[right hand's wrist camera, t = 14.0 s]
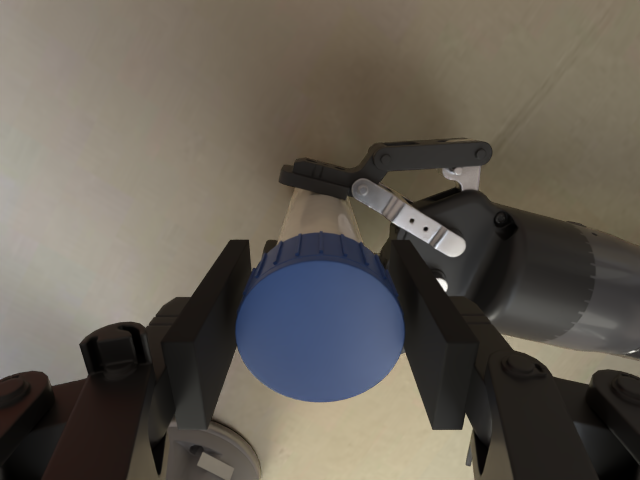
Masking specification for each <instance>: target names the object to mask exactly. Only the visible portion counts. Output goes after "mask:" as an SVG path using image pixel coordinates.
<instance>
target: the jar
mask: <svg viewBox="0 0 640 480" xmlns="http://www.w3.org/2000/svg"><path fill="white" fill-rule="evenodd" d="M320 231H323V232H325V233H334V234H338V235H341V234H344V236H346V237H348V238H351V239H353V240H355V241H357V242H359V243H360V242H362V243H363V240H362V237H361V234H360V231H359V228H358V225H357V222H356V218H355V215H354V212H353V209H352V206H351V203H350V200H349V197H348V196H347V198H346V200H343V199H339V198H335V197H332V196H328V195H323V194H319V193H315V192H311V191H307V190H304V189H300V188H296V187H295V189H294V192H293V195H292V198H291V201H290V204H289V207H288V210H287V213H286V217H285V220H284V223H283V226H282V229H281V232H280V235H279V238H278V241H277V244H276V246H277V245H278V244H279V242H280V241H282V242H283V241H285V240H287V239H290V238H292V237H295V236H298V234H300V233H302V234H307V233H314V232H320ZM363 245H364V243H363Z"/></svg>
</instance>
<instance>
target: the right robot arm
mask: <svg viewBox="0 0 640 480" xmlns="http://www.w3.org/2000/svg"><path fill="white" fill-rule="evenodd" d="M389 274H390V276H391V279H392V281H393V283H394V286H395V288H396V290H397V293H398V295H399V296H398V300H399V302H400V305H401V307H402V310H403V312H404V316H403V317H404V322H405V340H404V344H403V347H404V350H405V352H406V355H407V358H408V361H409V364H410V367H411V370H412V372H413V375H414V378H415V381H416V384H417V387H418V389H419V392H420V395H421V398H422V401H423V404H424V407H425V409H426V412H427V415H428V418H429V421H430V424H431V427H432V429H433V430H462V428H463V423H464V418H465V413H466V414H467V416H468V419H469V421H470V423H471V425H472V427H473V431H472V435H471V440H470V445H469V449H468V454H467V459H466V465H467V466H471V462H473V470H474V479H475V480H640V378H639V377H637V376H634V375H632V374H628V373H625V372H622V371H615V370H609V369H607V370H598V371H597V372H596V373H594V374H593V375H592V378H591V381H590V384H589V385H588V384H583V383H579V382H574V381H569V380H565V379H560V378H556V377H553V376H552V374H551V373H550V371H549V370H548V369H547V367H546V366H545V365H544V364H542V363H541V362H540V361H538V360H537V359H535V358H533V357H531V356H529V355H527V354H525V353H521V352H518V351H514V350H513V349H512V348H511V347H510V345H509V344H508V343H507V342H506V340H505V339H504V338H503V337H502V335H501V334H500V333H499V332H498V330H497V329H496V328H495V327H494V325H493V324H491V322H490V320H489V319H488V318H487V317H486V316H485V314H484V313H483V312H482V310H481V309H480V308H479V307H478V305H477V304H475V303H474V302H472V301H471V300H469V299H468V298H466V297H464V296H448V295H447V294H446V292H445V291H444V289H443V288H442V286H441V285H440V283H439V282H438V280H437V279H436V277H435V276H434V275H433V273H432V272H431V270H430V269H429V267H428V266H427V264H426V263H425V261H424V260H423V258H422V257H421V256H420V254H419V253H418V251H417V250H416V248H415V247H414V245H413V244H412V242H411V241H410V240H391V247H390V260H389ZM250 275H251V260H250V247H249V240H230V241H229V242H228V244H227V245H226V247H225V248H224V250H223V251H222V253H221V254H220V256H219V257H218V258H217V260H216V261H215V263H214V264H213V266H212V267H211V269H210V270H209V272H208V273H207V275H206V276H205V277H204V279H203V280H202V282H201V283H200V285H199V286H198V288H197V289H196V291H195V292H194V294H193V295H192V296H191V297H176V298H174V299H173V300H171V301H170V302H168V303H167V304H165V305H164V306H163V307H162V308H161V309H160V311H159V312H158V313H157V314H156V317H154V318H153V319H152V321H151V322H150V323H149V326H147V327H146V328H145V327H144V326H143V325H141V324H140V323H135V322H120V323H115V324H111V325H107V326H105V327H103V328H100V329H98V330H96V331H94V332H93V333H91V334H90V335H88V336H87V337H85V338H84V340H83V341H82V342H81V343H80V344H79V345H80V348H81V352H82V355H83V358H84V362H85V365H86V368H87V372H88V377H87V378H85V379H82V380H78V381H73V382H69V383H64V384H59V385H55V386H51V384H50V381H49V378H48V376H47V375H46V374H44V373H43V372H37V371H29V372H22V373H18V374H14V375H12V376H11V375H10V376H8V377H5V378H3V379H1V380H0V480H260V477H261V468H260V463H259V460H258V458H257V456H256V454H255V452H254V450H253V449H252V448H251V446H250V445H249V444H248V443H247V442H246V441H245V440H244V439H243V438H242V437H241V436H239V435H238V434H237V433H235V432H234V431H232V430H231V429H229V428H227V427H225V426H223V425H221V424H219V423H216V422H213V421H211V418H212V415H213V412H214V409H215V407H216V404H217V401H218V398H219V395H220V392H221V389H222V387H223V384H224V381H225V378H226V375H227V372H228V370H229V367H230V364H231V361H232V358H233V355H234V352H235V350H236V347H237V343H236V336H235V324H236V319H237V309H238V307H239V305H240V302H241V300H242V297H243V291H244V289H245V287H246V284H247V282H248V280H249V277H250ZM174 414H175V415H174Z"/></svg>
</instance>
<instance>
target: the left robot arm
mask: <svg viewBox="0 0 640 480" xmlns="http://www.w3.org/2000/svg"><path fill="white" fill-rule="evenodd" d="M491 156H492V148H491V146H490V145H489V144H488V143H486V142H482V141H477V140H472V139H467V138H452V139H436V140H419V141H402V142H385V143H375V144H373V145H372V146H371V147H370V148H369V150H368V154H367V155H366V156H365V158H364V159H363V160H362V162H361V163H360V164H359V165H358V166H357V167H355V168H351V169H347V168H343V167H339V166H336V165H332V164H328V163H324V162H320V161H316V160H313V159H309V158H299V159H296V161H295V163H294V166H291V165H283V167H282V169H281V173H280V178H279V182H280V183H282V184H284V185H288V186H292V187H296V188H300V189H304V190H307V191H311V192H315V193H319V194H323V195H328V196H332V197H335V198H339V199H343V200H346V198H347V196H351V197H354V198H355V199H357V200H358V201H360V202H362V203H363V204H365V205H367V206H368V207H370V208H372V209H373V210H375V211H377V212H379V213H380V214H382V215H383V216H385V217H386V218H387V219H388V220H390V221H391V224H390V235H389V239H388V240H387V242H386V243H385V245H384V246H383V247H382V250H381V253H373V254H374V255H375V254H377V255H378V257H379V259H380V262H381V263H382V265H383V267H384V269H385V270H387V269H388V271H389V260H390V247H391V240H410V241H411V242H412V244H413V245H414V247H415V248H416V250H417V251H418V253H419V254H420V256H421V257H422V258H423V260H424V261H425V263H426V264H427V266H428V267H429V269H430V270H431V272H432V273H433V275H434V276H435V277H436V279H437V280H438V282H439V283H440V285H441V286H442V288H443V289H444V291H445V292H446V294H447V295H448V296H464V297H466V298H468V299H469V300H471V301H472V302H474V303H475V304H477V305H478V307H479V308H480V309H481V310H482V312H483V313H484V314H485V316H486V317H487V318H488V319H489V320H490V322H491V324H493V325H494V327H495V328H496V329H497V330H498V332H499V333H500V334H504V335H508V336H513V337H517V338H521V339H526V340H530V341H535V342H539V343H544V344H548V345H552V346H557V347H561V348H566V349H571V350H577V351H589V352H601V353H607V354H611V355H616V356H620V357H624V358H629V359H633V360H637V361H640V246H639V245H634V244H632V243H629V242H627V241H624V240H622V239H620V238H618V237H616V236H613V235H611V234H608V233H604V232H601V231H598V230H595V229H591V228H587V227H586V226H584V225H582V224H580V223H575V222H569V221H566V222H564V221H561V220H557V219H553V218H549V217H546V216H542V215H538V214H534V213H531V212H527V211H523V210H519V209H515V208H512V207H508V206H504V205H500V204H497V203H493V202H491V201H490V200H489V199H488V198H487V197H486V196H485V195H484V194H483V193H482V192H480V191H478V190H479V181H480V172H481V166H482V165H484V164H486V163H487V162H488V161H489V160H490V159H491ZM419 169H437V171H438V173H439V174H440V175H441V176H443V177H445V178H447V179H449V180H454V182H455V184H456V187H455V188H452V189H449V190H446V191H444V192H441V193H438V194H436V195H433V196H430V197H427V198H425V199H422V200H419V201H417V202H413V201H412V200H410V199H408V198H407V197H405V196H404V195H402V194H400V193H399V192H397V191H395V190H394V189H392V188H390V187H388V186H386V185H384V184H382V183H381V182H380V181H381V180H382V179H383V177H384V176H385V175H386V173H387V172H388V171H402V170H419ZM276 244H277V241H276V240H268V241H267V242H266V244H265V247H264V250H263V254H264V253H268V252H269V251H270V250H271V249H273V248H274V247H275V246H276ZM263 254H262V257H263ZM402 353H405V350H404V347H403V348H402V352H401V354H402Z"/></svg>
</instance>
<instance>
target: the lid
mask: <svg viewBox="0 0 640 480" xmlns="http://www.w3.org/2000/svg"><path fill="white" fill-rule="evenodd" d="M398 296H399V295H398V293H397V290H396V288H395V286H394V283H393V281H392V279H391V276H390V274H389V271H388V269H387V270H385V269H384V267H383V265H382V263H381V262H380V259H379V257H378V255H377V254H375V255H374V254H373V253H372V252H371V251H370V250H369V249H368V248H366V247H365V246H364V245H363V243H362V242H360V243H359V242H357V241H355V240H353V239H351V238H348V237H346V236H344V234H341V235H338V234H334V233H325V232H323V231H320V232H314V233H307V234H302V233H300V234H298V236H295V237H292V238H290V239H287V240H285V241H283V242H282V241H280V242H279V244H278V245H277V246H275V247H274V248H273V249H271V250H270V251H269V252H268V253H264V254H263V257H262V259H261V261H260V262H259V264H258V266H257V268H253V270H252V272H251V275H250V277H249V280H248V282H247V284H246V287H245V289H244V291H243V297H242V300H241V302H240V305H239V307H238V309H237V319H236V324H235V336H236V343H237V347H238V351H239V353H240V355H241V358H242V360H243V362H244V363H245V365H246V366H247V368H248V369H249V370H250V372H251V373H252V374H253V375H254V376H255V377H256V378H257V379H258V380H259V381H260V382H261V383H263V384H264V385H266V386H267V387H268V388H270V389H272V390H274V391H275V392H277V393H279V394H282V395H284V396H287V397H290V398H293V399H297V400H302V401H308V402H332V401H339V400H344V399H347V398H351V397H354V396H356V395H359V394H361V393H363V392H365V391H367V390H369V389H370V388H372V387H374V386H375V385H376V384H378V383H379V382H380V381H381V380H382V379H383V378H384V377H386V376H387V375H388V373H389V372H390V371H391V370H392V368H393V367H394V365H395V364H396V362H397V360H398V359H399V356H400V354H401V352H402V348H403V344H404V340H405V322H404V317H403V316H404V312H403V310H402V307H401V305H400V302H399V300H398Z"/></svg>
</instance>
